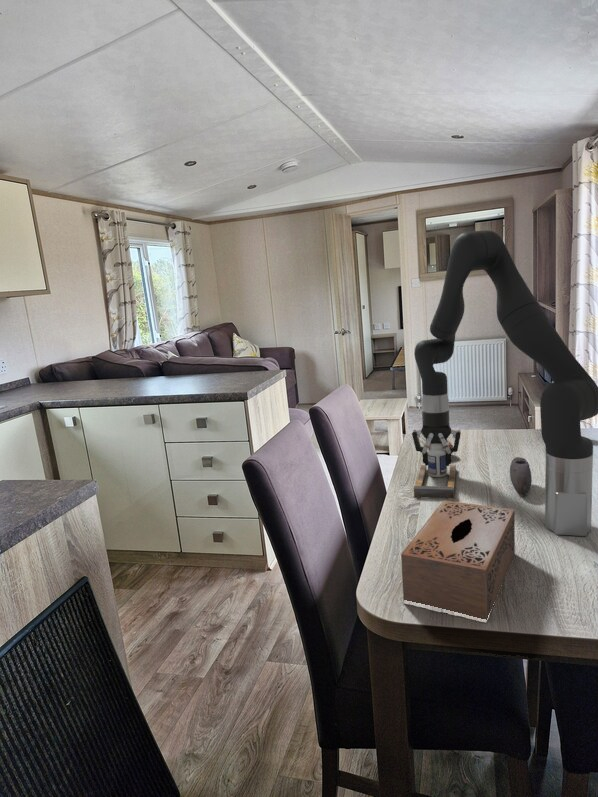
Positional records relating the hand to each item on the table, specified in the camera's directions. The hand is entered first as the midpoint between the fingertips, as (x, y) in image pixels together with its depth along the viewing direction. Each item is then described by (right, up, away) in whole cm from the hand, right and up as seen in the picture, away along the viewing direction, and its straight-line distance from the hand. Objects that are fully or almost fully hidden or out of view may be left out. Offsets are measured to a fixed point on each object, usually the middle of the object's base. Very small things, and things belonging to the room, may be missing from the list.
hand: (437, 464), depth 160 cm
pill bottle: (0, -3, +1) cm, 3 cm away
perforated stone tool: (+18, -5, -15) cm, 24 cm away
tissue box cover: (-9, -16, -55) cm, 58 cm away
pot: (+5, 0, +17) cm, 17 cm away
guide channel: (-2, -4, -6) cm, 8 cm away
